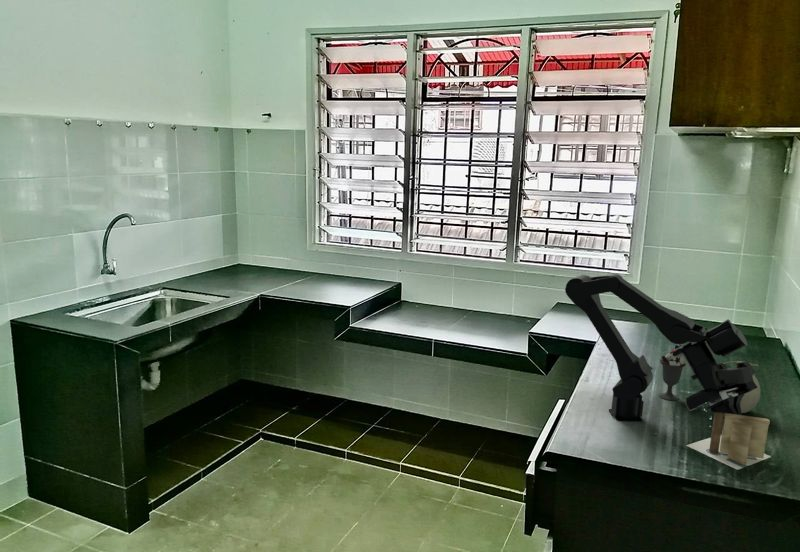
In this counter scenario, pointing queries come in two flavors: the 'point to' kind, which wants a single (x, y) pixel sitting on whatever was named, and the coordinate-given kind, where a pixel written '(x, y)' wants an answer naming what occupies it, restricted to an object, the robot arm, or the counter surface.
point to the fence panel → (756, 437)
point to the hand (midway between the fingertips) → (742, 430)
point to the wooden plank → (732, 438)
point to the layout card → (723, 454)
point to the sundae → (671, 373)
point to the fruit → (749, 394)
